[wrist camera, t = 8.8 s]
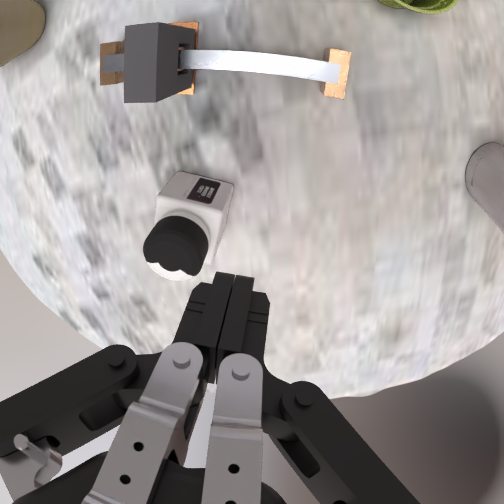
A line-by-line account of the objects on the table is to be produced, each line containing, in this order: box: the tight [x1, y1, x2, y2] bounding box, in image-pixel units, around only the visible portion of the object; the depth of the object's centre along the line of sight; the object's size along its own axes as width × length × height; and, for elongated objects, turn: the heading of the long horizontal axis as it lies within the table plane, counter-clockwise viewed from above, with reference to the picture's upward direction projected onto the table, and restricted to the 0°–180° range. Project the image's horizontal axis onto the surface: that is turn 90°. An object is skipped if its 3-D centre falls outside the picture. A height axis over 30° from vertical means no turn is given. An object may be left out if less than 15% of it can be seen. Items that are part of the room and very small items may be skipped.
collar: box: [124, 22, 195, 103], centre depth 25 cm, size 3×7×10 cm, turn 175°
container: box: [143, 171, 234, 281], centre depth 36 cm, size 8×8×13 cm
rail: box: [100, 22, 351, 99], centre depth 28 cm, size 26×9×6 cm, turn 85°
